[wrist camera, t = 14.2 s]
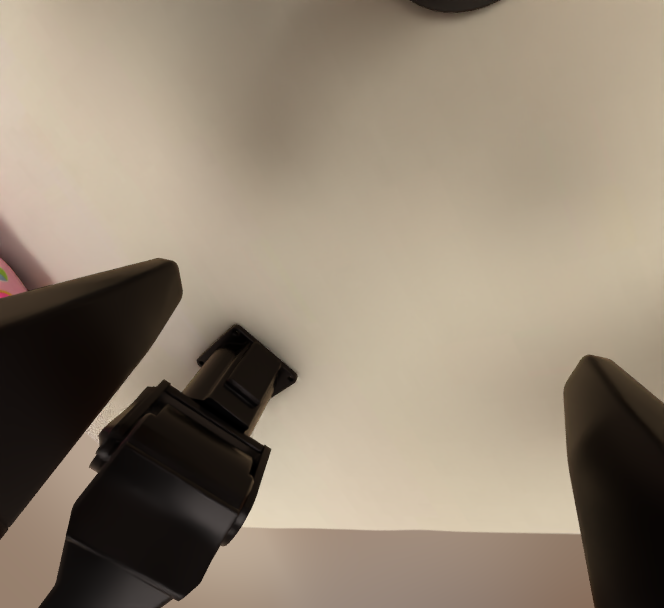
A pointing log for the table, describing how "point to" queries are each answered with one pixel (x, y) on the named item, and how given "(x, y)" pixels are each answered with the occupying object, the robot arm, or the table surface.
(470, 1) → the coaster
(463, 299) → the table surface
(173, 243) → the table surface
